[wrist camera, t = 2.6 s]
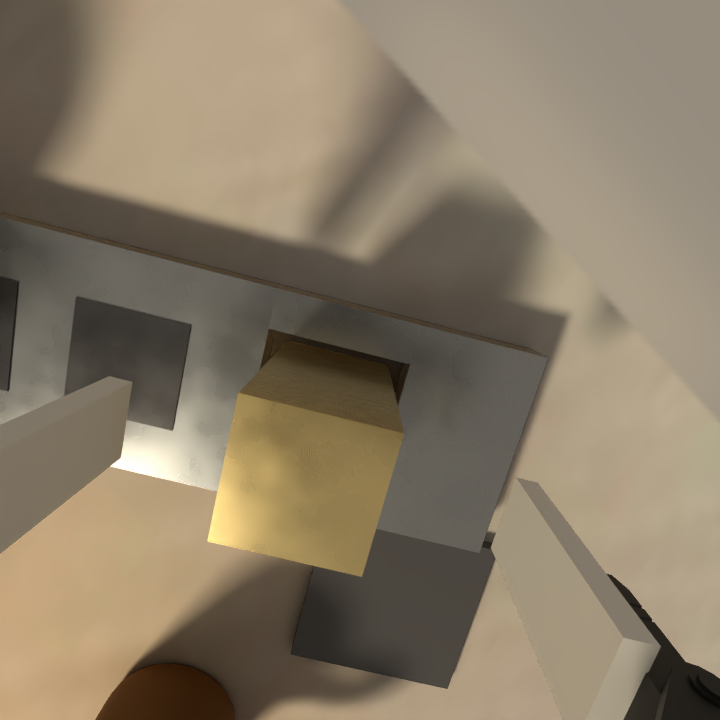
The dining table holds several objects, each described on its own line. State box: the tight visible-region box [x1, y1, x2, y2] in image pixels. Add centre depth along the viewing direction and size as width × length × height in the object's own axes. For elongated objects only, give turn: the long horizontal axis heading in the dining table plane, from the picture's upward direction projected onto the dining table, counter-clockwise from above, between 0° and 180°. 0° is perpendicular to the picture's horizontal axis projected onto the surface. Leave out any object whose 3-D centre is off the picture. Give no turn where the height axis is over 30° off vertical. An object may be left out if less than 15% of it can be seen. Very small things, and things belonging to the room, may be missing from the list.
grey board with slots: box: [0, 212, 548, 553], centre depth 21 cm, size 26×10×2 cm, turn 76°
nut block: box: [208, 340, 404, 577], centre depth 18 cm, size 5×5×9 cm
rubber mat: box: [291, 529, 495, 689], centre depth 25 cm, size 9×9×1 cm
